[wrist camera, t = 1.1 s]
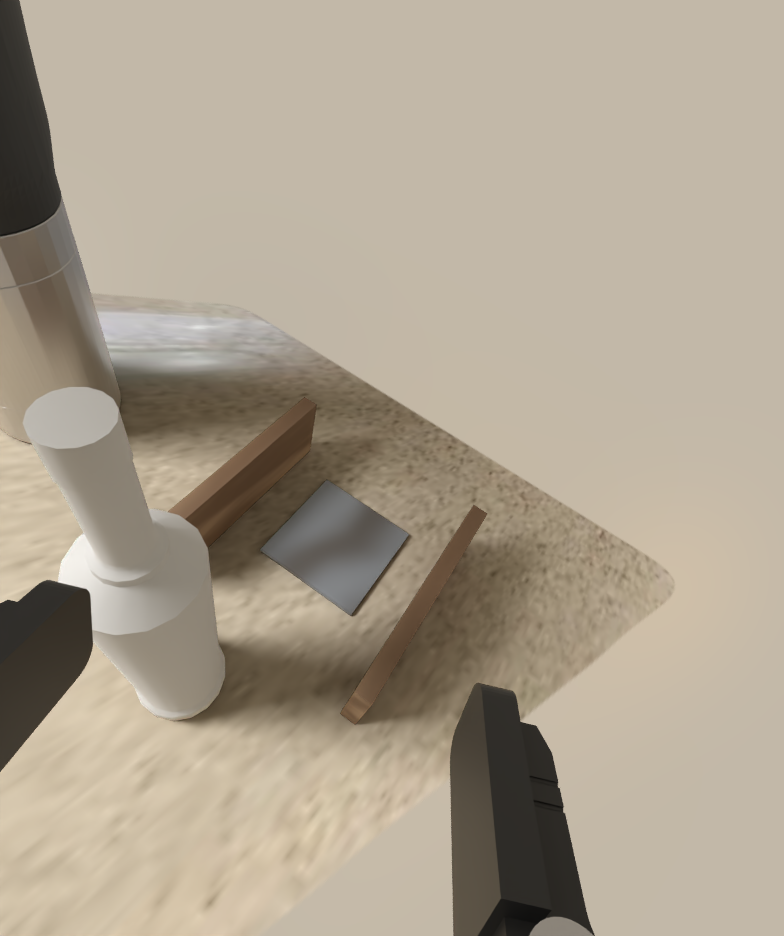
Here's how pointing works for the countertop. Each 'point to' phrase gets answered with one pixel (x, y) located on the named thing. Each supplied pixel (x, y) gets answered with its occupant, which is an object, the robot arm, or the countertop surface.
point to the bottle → (130, 557)
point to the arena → (322, 537)
